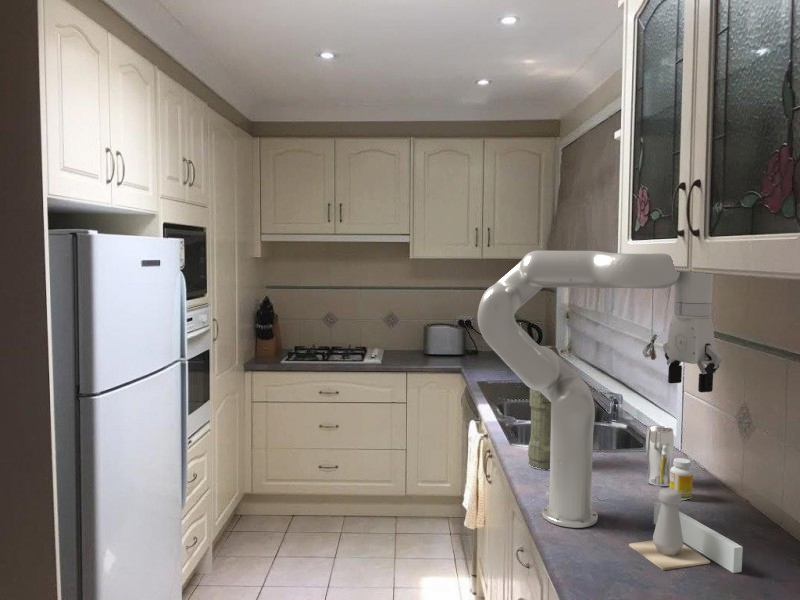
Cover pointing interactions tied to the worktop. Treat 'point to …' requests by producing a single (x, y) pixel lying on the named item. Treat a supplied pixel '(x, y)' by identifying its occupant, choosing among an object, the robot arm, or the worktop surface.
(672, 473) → the supplement bottle
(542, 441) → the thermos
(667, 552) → the salt shaker
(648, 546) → the coaster board
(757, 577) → the worktop surface
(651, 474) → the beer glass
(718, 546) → the acrylic wall
